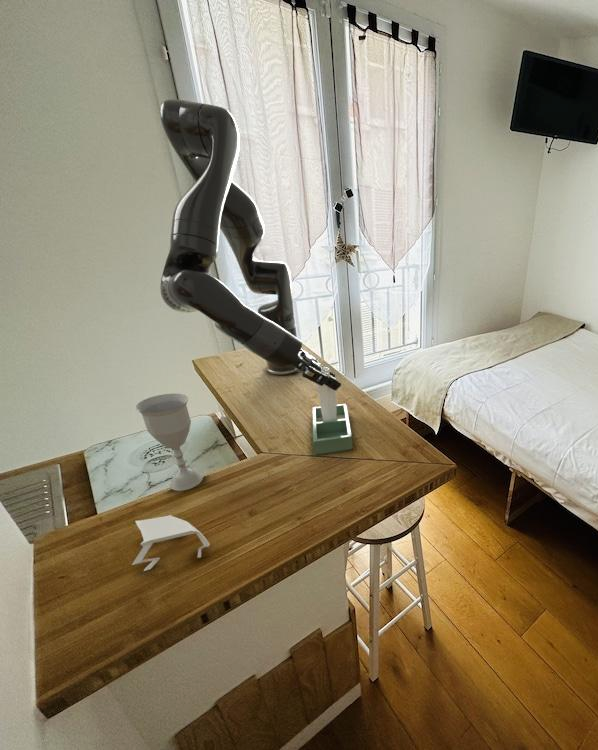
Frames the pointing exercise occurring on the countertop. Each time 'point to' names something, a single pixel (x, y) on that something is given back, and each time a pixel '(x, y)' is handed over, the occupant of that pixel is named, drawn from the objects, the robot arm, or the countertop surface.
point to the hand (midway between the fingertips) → (335, 382)
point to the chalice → (171, 432)
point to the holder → (331, 431)
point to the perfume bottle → (327, 399)
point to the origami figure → (164, 535)
